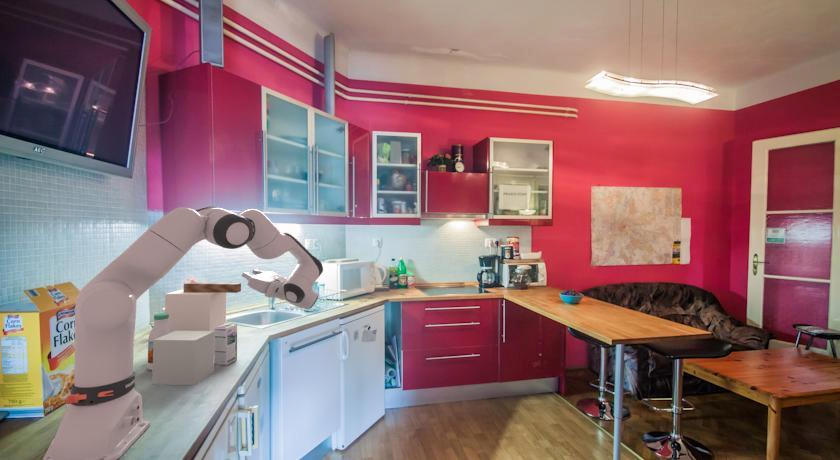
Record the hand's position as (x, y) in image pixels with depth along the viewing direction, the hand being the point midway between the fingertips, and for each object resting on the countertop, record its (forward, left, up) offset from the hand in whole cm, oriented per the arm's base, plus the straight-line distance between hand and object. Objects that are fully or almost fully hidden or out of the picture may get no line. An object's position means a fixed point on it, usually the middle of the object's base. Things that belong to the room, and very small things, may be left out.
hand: (248, 272), depth 143 cm
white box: (+14, +20, -35) cm, 42 cm away
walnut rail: (+11, +14, -9) cm, 20 cm away
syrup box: (-2, +7, -35) cm, 36 cm away
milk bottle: (+2, +29, -35) cm, 46 cm away
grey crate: (-13, +19, -35) cm, 42 cm away
